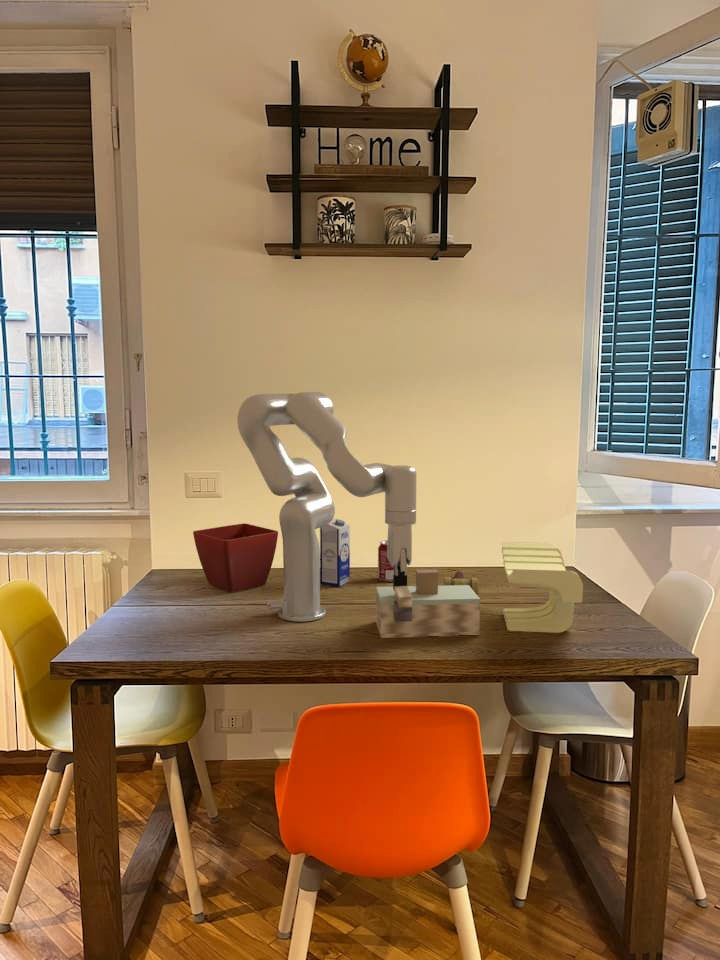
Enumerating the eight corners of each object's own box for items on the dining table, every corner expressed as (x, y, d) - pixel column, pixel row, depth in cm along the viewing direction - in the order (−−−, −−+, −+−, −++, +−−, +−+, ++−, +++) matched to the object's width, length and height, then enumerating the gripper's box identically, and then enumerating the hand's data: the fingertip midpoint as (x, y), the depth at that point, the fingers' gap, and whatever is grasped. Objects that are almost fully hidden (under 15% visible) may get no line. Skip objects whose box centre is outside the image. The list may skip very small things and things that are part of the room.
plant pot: (192, 584, 216) (191, 530, 214) (245, 573, 229) (244, 522, 227) (226, 598, 202) (224, 540, 200) (280, 585, 215) (280, 531, 213)
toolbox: (382, 642, 167) (382, 604, 166) (376, 621, 182) (376, 586, 181) (482, 639, 169) (483, 602, 168) (467, 619, 184) (468, 585, 183)
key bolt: (399, 607, 163) (399, 596, 162) (394, 596, 172) (394, 586, 171) (412, 607, 163) (412, 596, 163) (406, 595, 172) (406, 585, 172)
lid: (381, 605, 169) (381, 578, 168) (376, 591, 181) (376, 565, 180) (480, 603, 171) (480, 576, 170) (468, 589, 183) (469, 564, 182)
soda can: (400, 582, 219) (400, 544, 217) (378, 582, 219) (378, 544, 217) (398, 576, 225) (399, 539, 224) (377, 576, 225) (377, 539, 224)
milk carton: (331, 579, 222) (330, 516, 220) (350, 581, 219) (350, 518, 217) (319, 584, 216) (319, 520, 214) (339, 587, 213) (339, 522, 211)
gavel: (443, 565, 228) (474, 566, 227) (443, 579, 228) (474, 580, 227) (444, 578, 207) (478, 579, 206) (443, 594, 208) (478, 595, 206)
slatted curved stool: (580, 645, 165) (583, 571, 163) (511, 642, 167) (513, 569, 165) (559, 606, 195) (561, 543, 193) (500, 604, 197) (502, 541, 194)
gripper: (381, 511, 178) (381, 582, 180) (389, 522, 163) (388, 599, 166) (410, 511, 179) (410, 582, 181) (421, 522, 164) (420, 599, 166)
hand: (400, 590), depth 173 cm, fingers closed
